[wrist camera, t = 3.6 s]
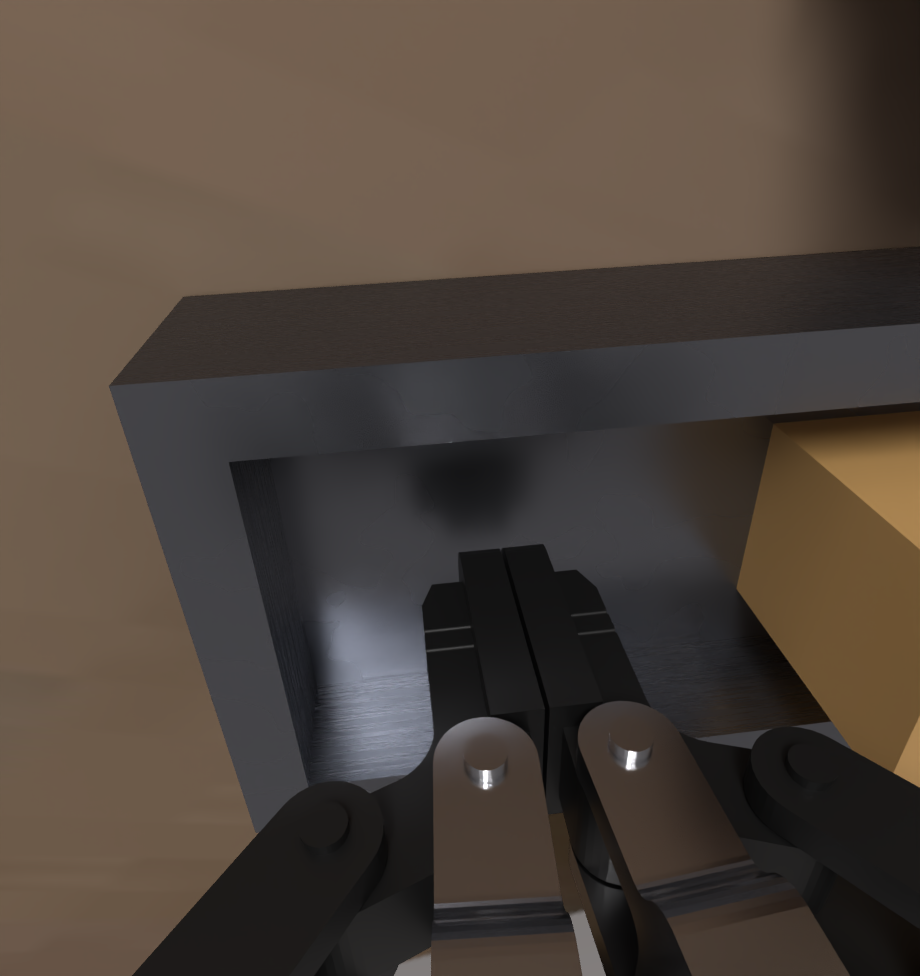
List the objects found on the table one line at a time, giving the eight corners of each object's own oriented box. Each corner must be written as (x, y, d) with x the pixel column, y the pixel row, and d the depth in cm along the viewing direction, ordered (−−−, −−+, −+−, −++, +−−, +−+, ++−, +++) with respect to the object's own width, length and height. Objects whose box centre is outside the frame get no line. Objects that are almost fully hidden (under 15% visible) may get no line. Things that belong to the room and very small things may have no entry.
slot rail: (1360, 216, 14) (1688, 263, 10) (1134, 583, 19) (1307, 696, 15) (183, 297, 12) (108, 386, 8) (278, 678, 17) (255, 832, 13)
